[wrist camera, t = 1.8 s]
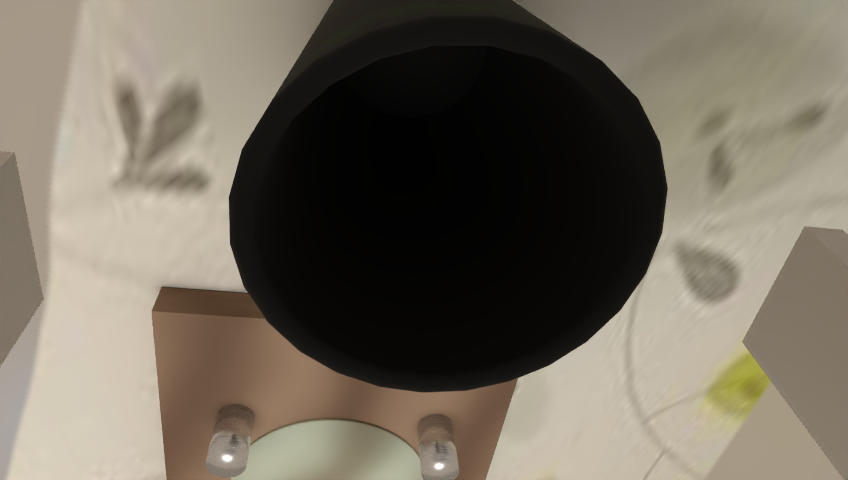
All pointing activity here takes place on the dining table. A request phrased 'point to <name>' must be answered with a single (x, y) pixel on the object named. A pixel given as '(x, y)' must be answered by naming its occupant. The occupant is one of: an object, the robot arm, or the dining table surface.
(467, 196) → the cup
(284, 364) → the stub board
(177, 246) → the dining table surface
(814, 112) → the dining table surface
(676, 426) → the dining table surface
